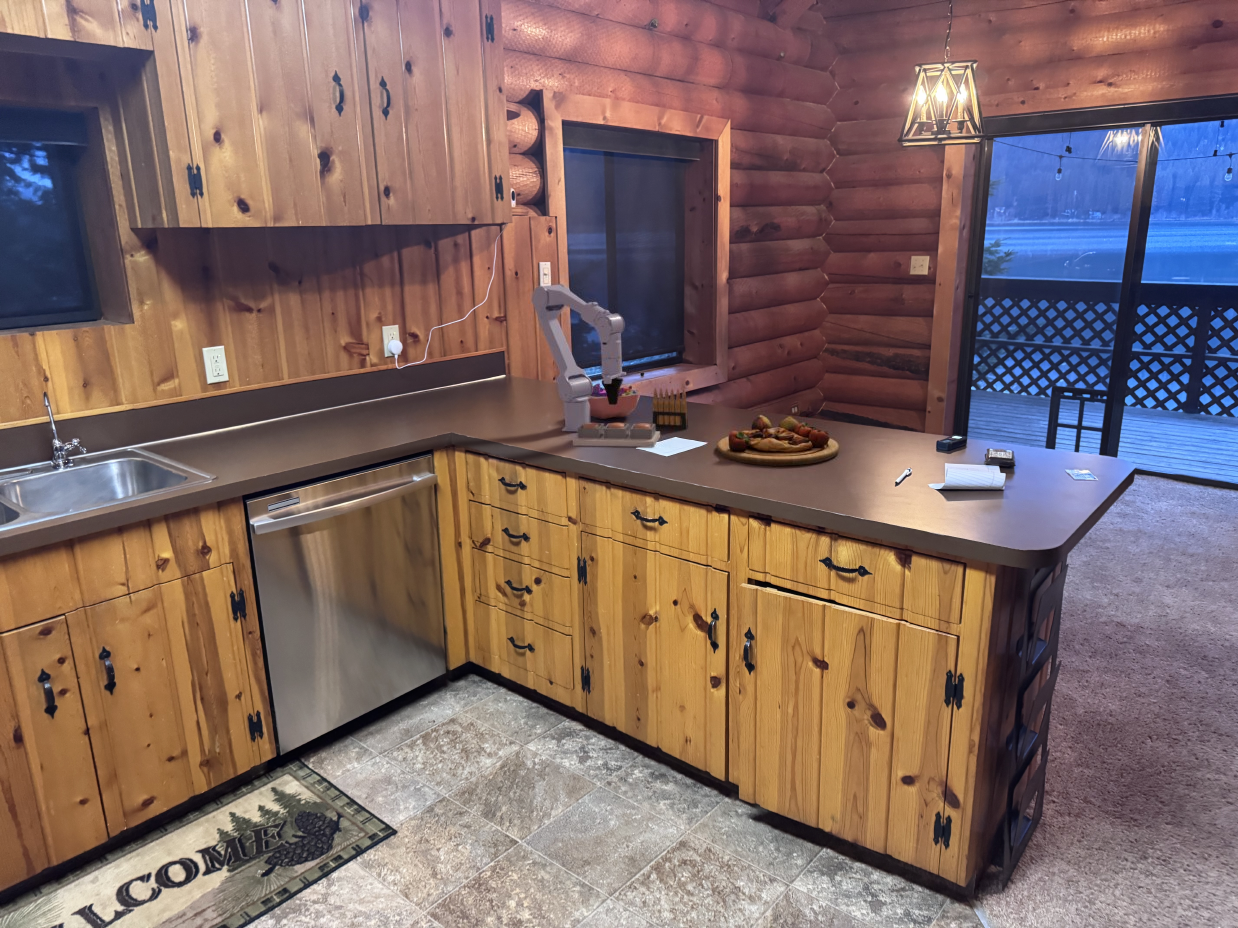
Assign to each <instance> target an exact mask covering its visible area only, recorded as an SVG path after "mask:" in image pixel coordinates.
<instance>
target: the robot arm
mask: <svg viewBox="0 0 1238 928" xmlns="http://www.w3.org/2000/svg"><path fill="white" fill-rule="evenodd" d="M531 303H532V305H533V308H534V310H535V312H536V315H537V321H538V323H539V325H540V327H541V330H542V333H543V336H544V337H545V339H546V342H547V345H548V348H549V350H550V352H551V355H552V357H553V359H554V362H555V364H556V367H557V368H558V371H559V374H558V376H557V377H556V380H555V382H556V385H557V393H558V396H559V398H560V399H561V400H562V402H563V405H564V421H565V422H564V424H565V426H564V427H563V428H562V429H561V432H578V428H579V427H580V426H581V425H582V424H583V423H592V422H591V415H590V404H589V402H588V399H590V395H591V394H592V392H593V386H594V384H593V381H592V379H591V378H590V377H589V376H588V375H587V373H586V370H585V369H582V368H581V367H579V366H578V365H577V363H576V361H575V358H574V356H573V354H572V351H571V349H570V346H569V344H568V342H567V340H566V337H565V334H564V332H563V329H562V327H561V324H560V322H559V320H558V318H559V315H560V314H561V313H562V312H563V310H564V308H565V307H567V308H569V309H571V310H573V311H574V312H577V313H579V314H580V318H581V319H582V321H584V322H586V323H588V325H590V326H592V327H594V328H595V330H596V332H597V334H598V336H599V337H598V338H599V339H598V340H599V341H600V350H601V377H602V378H603V379H602V380H601V385H602V386H603V387H602V388H605V391H606V394H607V398H608V402H609V405H616V404H617V402H618V396H619V390H620V388H622V387H621V386H622V384H623V382H624V378H619V377H622V376H626V375H627V372H626V371H623V365H622V364H623V363H622V362H623V360H622V359H623V358H622V335H621V334H622V333H623V332H624V330H625V327H626V322H625V320H624V318H623V316H622V315H621V314H620V313H611V312H610V311H609V310H607V309H604V308H603V307H601V306H600V305H599V303H598V302H596V301H593V302H592V301H591V302H586V301H584V300H583V299H581V298H580V297H579V296H577V295H576V294H575V293H573V292H572V291H571V290H570V287H568V286H565V285H564V284H561V283H558V284H554V285H553V284H552V285H543V286H542V285H538V286H535V288H534V290H533V291H532V296H531Z"/></svg>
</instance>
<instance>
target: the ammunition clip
mask: <svg viewBox="0 0 1238 928" xmlns="http://www.w3.org/2000/svg"><path fill="white" fill-rule="evenodd" d="M653 390H654V391H653V401H652V424H655V429H668V430H669V429H671V430H688V428H689V422H688V421H689V420H688V407H687V406H688V403H687V395H686V390H685V388H683V389H682V393H680V389H679V388H677V390H676V395H675V392H674V389H673V388H672V389H670V394H669V391H668V390H669V389H668V388H666V389H665V390H664V391H665V392H664V391H663V389H662V388H660V389H659V393H658V390H657V388H654V389H653ZM669 395H670V396H669Z"/></svg>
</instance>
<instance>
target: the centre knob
mask: <svg viewBox="0 0 1238 928" xmlns="http://www.w3.org/2000/svg"><path fill="white" fill-rule="evenodd" d="M624 424H625V423H623V422H611V423H610V424H609V428H624Z"/></svg>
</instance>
